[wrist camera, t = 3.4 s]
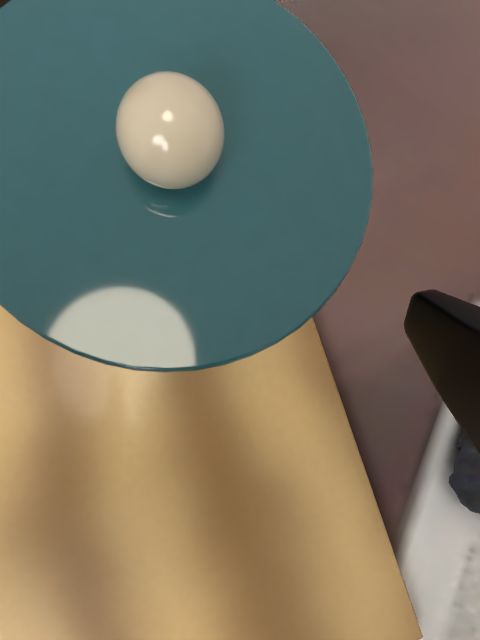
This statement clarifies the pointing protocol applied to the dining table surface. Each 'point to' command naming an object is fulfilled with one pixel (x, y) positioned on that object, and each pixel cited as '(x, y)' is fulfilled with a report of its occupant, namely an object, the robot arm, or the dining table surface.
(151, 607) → the mat
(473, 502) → the dark slate chunk
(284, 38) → the pot
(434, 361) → the robot arm
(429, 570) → the dining table surface
